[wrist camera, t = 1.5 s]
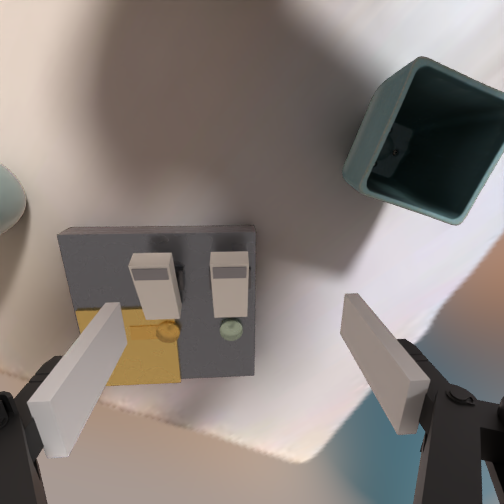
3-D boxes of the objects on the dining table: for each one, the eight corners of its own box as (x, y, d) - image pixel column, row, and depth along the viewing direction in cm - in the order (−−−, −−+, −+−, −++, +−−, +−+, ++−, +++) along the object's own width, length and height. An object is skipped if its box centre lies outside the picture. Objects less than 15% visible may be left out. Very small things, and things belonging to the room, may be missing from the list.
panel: (71, 227, 29) (51, 237, 26) (253, 225, 30) (256, 234, 27) (101, 368, 35) (88, 390, 32) (252, 361, 36) (254, 382, 33)
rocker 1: (133, 253, 25) (127, 267, 23) (171, 252, 25) (168, 266, 24) (149, 306, 29) (145, 321, 28) (181, 305, 29) (179, 320, 28)
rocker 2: (210, 252, 25) (209, 265, 24) (247, 251, 25) (248, 265, 24) (214, 304, 30) (214, 318, 28) (246, 303, 30) (247, 317, 28)
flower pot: (397, 205, 30) (461, 228, 22) (319, 178, 29) (356, 192, 20) (441, 116, 27) (533, 104, 19) (357, 82, 26) (418, 52, 18)
